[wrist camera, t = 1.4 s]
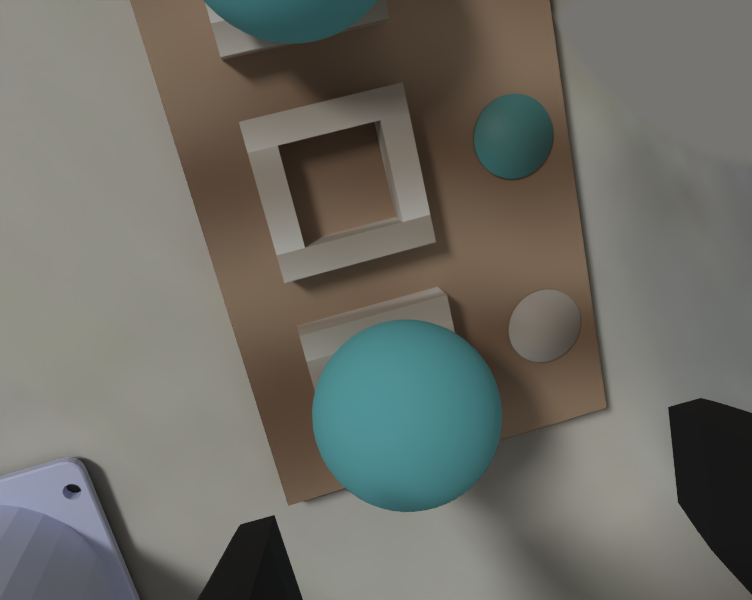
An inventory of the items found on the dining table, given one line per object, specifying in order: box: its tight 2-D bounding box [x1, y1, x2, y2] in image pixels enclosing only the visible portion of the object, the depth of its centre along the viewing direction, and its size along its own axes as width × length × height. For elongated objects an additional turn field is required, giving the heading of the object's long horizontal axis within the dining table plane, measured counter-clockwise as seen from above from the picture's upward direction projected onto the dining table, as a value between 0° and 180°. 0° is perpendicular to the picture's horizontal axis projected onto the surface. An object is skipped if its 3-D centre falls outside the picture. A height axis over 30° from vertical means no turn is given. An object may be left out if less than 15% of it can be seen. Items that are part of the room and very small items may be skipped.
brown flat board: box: [130, 0, 607, 506], centre depth 19 cm, size 19×11×2 cm, turn 13°
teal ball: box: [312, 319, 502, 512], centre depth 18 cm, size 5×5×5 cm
